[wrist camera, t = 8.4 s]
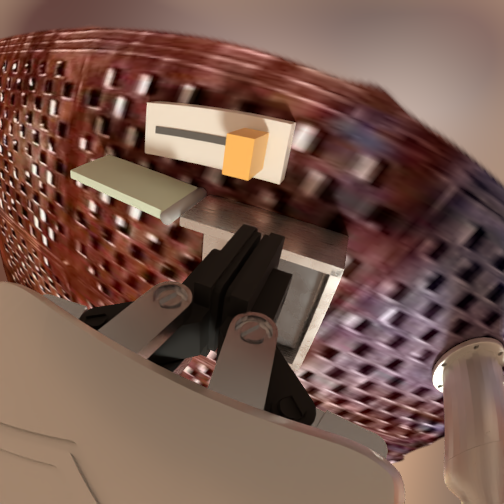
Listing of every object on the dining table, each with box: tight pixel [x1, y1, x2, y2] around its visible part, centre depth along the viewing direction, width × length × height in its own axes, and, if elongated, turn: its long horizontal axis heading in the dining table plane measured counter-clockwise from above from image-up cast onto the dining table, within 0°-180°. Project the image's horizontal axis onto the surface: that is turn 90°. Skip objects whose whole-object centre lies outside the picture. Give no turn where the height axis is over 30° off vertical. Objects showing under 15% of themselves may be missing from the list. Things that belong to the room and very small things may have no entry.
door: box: [71, 155, 207, 225], centre depth 31 cm, size 1×16×7 cm, turn 74°
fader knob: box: [222, 128, 269, 181], centre depth 25 cm, size 2×4×4 cm, turn 171°
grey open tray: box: [180, 194, 348, 371], centre depth 33 cm, size 16×16×6 cm
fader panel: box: [145, 101, 296, 185], centre depth 28 cm, size 16×6×2 cm, turn 81°
